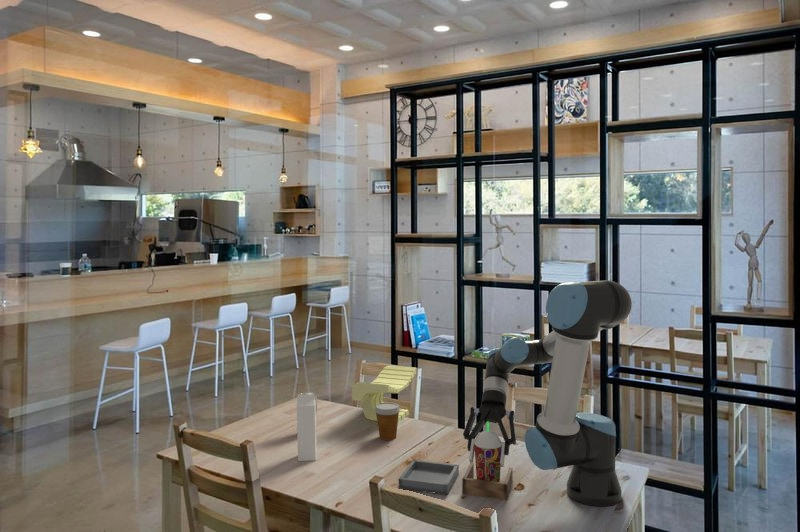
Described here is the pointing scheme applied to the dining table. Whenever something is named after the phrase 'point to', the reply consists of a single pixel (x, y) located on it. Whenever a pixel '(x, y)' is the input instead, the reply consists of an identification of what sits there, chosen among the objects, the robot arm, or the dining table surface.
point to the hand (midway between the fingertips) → (486, 463)
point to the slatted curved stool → (383, 389)
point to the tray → (429, 477)
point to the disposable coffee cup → (387, 420)
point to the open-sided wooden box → (486, 485)
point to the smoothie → (488, 455)
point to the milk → (306, 427)
